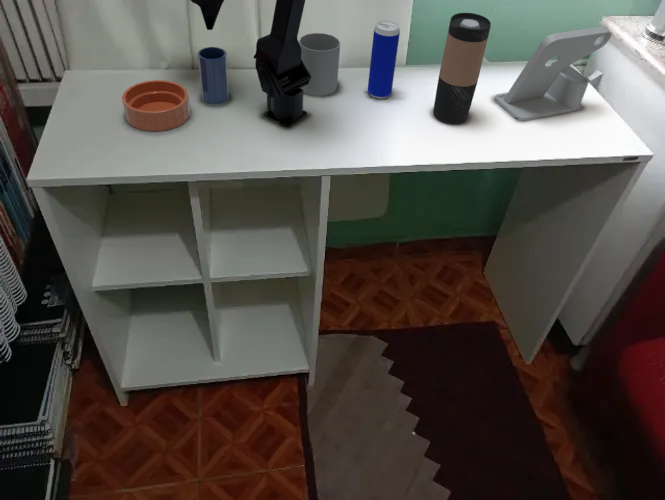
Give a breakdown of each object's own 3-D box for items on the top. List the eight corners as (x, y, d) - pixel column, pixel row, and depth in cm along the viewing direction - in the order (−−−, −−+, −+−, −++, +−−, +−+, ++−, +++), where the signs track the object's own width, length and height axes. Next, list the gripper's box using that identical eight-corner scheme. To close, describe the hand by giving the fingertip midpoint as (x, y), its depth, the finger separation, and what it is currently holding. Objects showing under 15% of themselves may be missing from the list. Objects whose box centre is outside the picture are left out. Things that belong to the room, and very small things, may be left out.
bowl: (203, 114, 122) (201, 93, 119) (158, 141, 114) (154, 120, 111) (159, 93, 126) (156, 73, 123) (112, 118, 119) (108, 97, 115)
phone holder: (555, 86, 139) (583, 7, 126) (585, 109, 132) (617, 28, 120) (492, 98, 133) (513, 16, 121) (519, 122, 127) (545, 38, 114)
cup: (332, 98, 129) (335, 53, 122) (294, 92, 130) (295, 47, 123) (339, 79, 135) (343, 36, 128) (303, 74, 136) (304, 30, 129)
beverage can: (395, 92, 132) (405, 25, 122) (383, 102, 129) (392, 33, 119) (374, 85, 134) (382, 17, 124) (362, 94, 131) (369, 26, 121)
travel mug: (472, 111, 129) (496, 18, 115) (462, 129, 123) (485, 33, 110) (438, 102, 131) (457, 8, 117) (426, 118, 125) (445, 23, 112)
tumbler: (234, 98, 127) (231, 52, 120) (216, 108, 123) (213, 62, 116) (214, 89, 129) (211, 44, 122) (196, 99, 125) (191, 53, 118)
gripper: (157, -80, 117) (167, 1, 128) (155, -47, 104) (167, 41, 115) (216, -80, 119) (221, 0, 130) (222, -47, 106) (227, 40, 117)
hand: (208, 19), depth 123 cm, fingers open, 9 cm apart
